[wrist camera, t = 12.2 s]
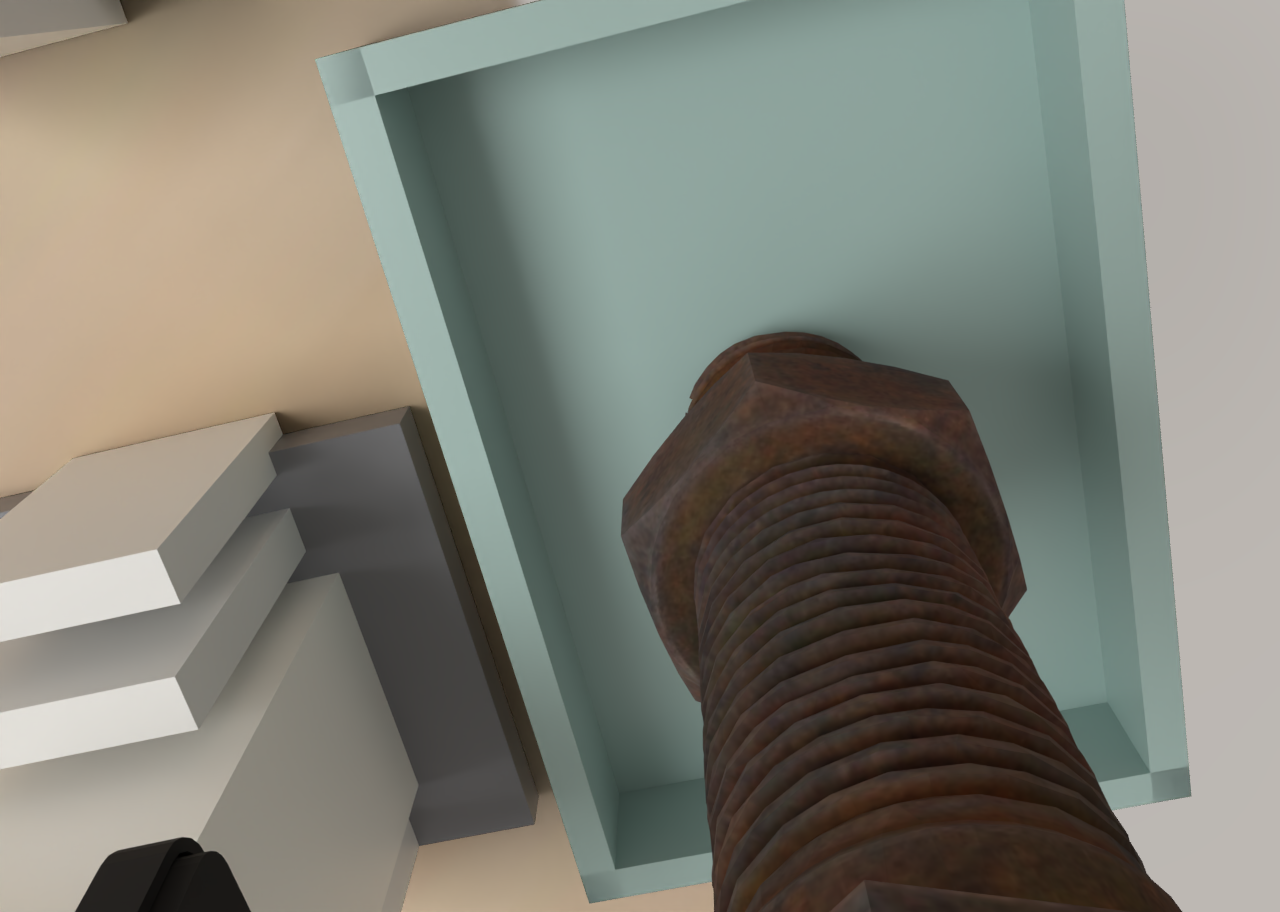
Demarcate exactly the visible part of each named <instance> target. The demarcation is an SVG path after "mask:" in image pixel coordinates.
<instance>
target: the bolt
mask: <svg viewBox="0 0 1280 912" xmlns="http://www.w3.org/2000/svg"><path fill="white" fill-rule="evenodd" d="M689 398H690V399H692V401H691V403H690V405H689V408H688V413H686V412H685V417H684V418H683V419H682V420H681V421H680V423H679V424H678V425H677V426H676V428H675V429H674V430H673V431H672V433H671V434H670V435H669V436H668V438H667V439H666V440H665V441H664V443H663V444H662V445H661V446H660V448H659V449H658V450H657V451H656V453H655V454H654V455H653V456H652V458H651V459H650V461H649V462H648V464H647V465H646V467H645V468H644V469H643V471H642V472H641V474H640V475H639V477H638V478H637V479H636V481H635V482H634V484H633V485H632V487H631V488H630V490H629V491H628V492H627V494H626V495H625V497H624V498H623V505H622V523H621V538H622V541H623V544H624V547H625V550H626V552H627V555H628V558H629V561H630V564H631V566H632V569H633V572H634V575H635V578H636V580H637V583H638V586H639V589H640V591H641V593H642V596H643V598H644V601H645V603H646V605H647V608H648V610H649V613H650V615H651V617H652V620H653V622H654V625H655V627H656V629H657V632H658V634H659V636H660V638H661V640H662V642H663V644H664V646H665V648H666V650H667V652H668V654H669V656H670V658H671V660H672V662H673V664H674V666H675V668H676V670H677V672H678V674H679V675H680V677H681V679H682V680H683V682H684V683H685V685H686V687H687V688H688V690H689V691H690V693H691V695H692V696H693V698H694V699H695V701H697V702H700V703H701V712H702V717H703V723H704V725H703V753H704V779H705V794H706V804H707V820H708V825H709V830H710V838H711V849H712V860H713V865H712V875H711V876H712V886H713V888H714V912H1182V911H1181V910H1180V908H1179V907H1178V906H1177V904H1176V903H1175V902H1174V900H1173V899H1172V898H1171V896H1169V894H1167V893H1166V892H1165V891H1164V890H1163V889H1162V888H1160V887H1159V886H1158V885H1157V884H1156V883H1154V881H1153V880H1151V879H1150V877H1149V876H1148V875H1147V874H1146V871H1145V868H1144V865H1143V863H1142V861H1141V859H1140V857H1139V856H1138V854H1137V852H1136V851H1135V849H1134V847H1133V846H1132V844H1131V842H1130V841H1129V837H1128V834H1127V833H1126V831H1125V830H1124V828H1123V827H1122V825H1121V824H1120V822H1119V821H1118V819H1117V818H1116V816H1115V815H1114V813H1113V812H1112V810H1111V808H1110V806H1109V804H1108V802H1107V800H1106V798H1105V796H1104V794H1103V792H1102V790H1101V787H1100V785H1099V783H1098V781H1097V779H1096V776H1095V774H1094V772H1093V771H1092V769H1091V767H1090V766H1089V764H1088V762H1087V761H1086V759H1085V757H1084V756H1083V754H1082V753H1081V752H1080V750H1079V749H1078V747H1077V745H1076V743H1075V741H1074V739H1073V736H1072V734H1071V732H1070V729H1069V726H1068V724H1067V723H1066V721H1065V719H1064V718H1063V716H1062V714H1061V713H1060V711H1059V709H1058V707H1057V705H1056V702H1055V701H1054V699H1053V697H1052V695H1051V694H1050V692H1049V690H1048V689H1047V687H1046V685H1045V684H1044V682H1043V681H1042V680H1041V678H1040V677H1039V674H1038V672H1037V670H1036V668H1035V666H1034V663H1033V661H1032V659H1031V658H1030V656H1029V653H1028V651H1027V650H1026V648H1025V646H1024V645H1023V643H1022V641H1021V639H1020V637H1019V635H1018V634H1017V633H1016V631H1015V630H1014V628H1013V625H1012V623H1011V620H1010V619H1009V618H1008V617H1009V616H1010V615H1011V613H1012V612H1013V610H1014V609H1015V607H1016V606H1017V604H1018V603H1019V601H1020V600H1021V598H1022V597H1023V595H1024V594H1025V592H1026V591H1027V586H1026V582H1025V578H1024V573H1023V569H1022V564H1021V560H1020V556H1019V553H1018V549H1017V546H1016V543H1015V539H1014V536H1013V532H1012V529H1011V526H1010V522H1009V519H1008V516H1007V513H1006V510H1005V507H1004V504H1003V501H1002V498H1001V495H1000V492H999V489H998V486H997V483H996V480H995V477H994V474H993V471H992V468H991V465H990V462H989V460H988V457H987V455H986V452H985V449H984V447H983V444H982V442H981V439H980V436H979V434H978V431H977V428H976V426H975V423H974V421H973V418H972V415H971V413H970V410H969V409H968V408H967V406H966V405H965V403H964V402H963V400H962V399H961V397H960V396H959V395H958V393H957V392H956V390H955V389H954V387H953V386H952V385H951V383H950V382H949V380H945V379H941V378H937V377H933V376H929V375H925V374H921V373H917V372H913V371H910V370H906V369H902V368H898V367H893V366H888V365H882V364H876V363H871V362H865V361H862V360H861V359H860V358H859V357H858V356H856V355H855V354H854V353H853V352H851V351H850V350H848V349H847V348H845V347H844V346H842V345H840V344H839V343H837V342H835V341H832V340H830V339H827V338H825V337H823V336H819V335H814V334H810V333H805V332H779V333H772V334H764V335H757V336H753V337H751V338H748V339H746V340H743V341H740V342H738V343H735V344H733V345H732V346H730V347H729V348H728V349H726V350H725V351H723V352H722V353H720V354H719V355H718V356H717V357H716V358H715V359H714V360H713V361H712V362H711V363H710V364H709V365H708V366H707V367H706V369H705V370H704V371H703V373H702V374H701V376H700V377H699V379H698V380H697V382H696V383H695V385H694V387H693V390H692V392H691V394H690V397H689Z"/></svg>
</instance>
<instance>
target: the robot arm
mask: <svg viewBox="0 0 1280 912" xmlns="http://www.w3.org/2000/svg"><path fill="white" fill-rule="evenodd" d="M75 912H251V911H250V908H249V906H248V904H247V902H246V900H245V898H244V896H243V894H242V892H241V890H240V888H239V886H238V884H237V882H236V880H235V878H234V876H233V873H232V871H231V869H230V867H229V865H228V863H227V862H226V860H225V859H224V857H223V856H222V855H221V854H219V853H218V852H217V851H207V852H204V850H203V849H202V847H201V846H200V844H199V843H197V842H196V841H195V840H193V839H192V838H188V837H180V838H175V839H170V840H165V841H160V842H156V843H151V844H146V845H141V846H136V847H131V848H126V849H122V850H117V851H116V852H114V853H112V854H110V855H108V857H107V858H106V859H105V860H104V862H103V863H102V864H101V866H100V867H99V869H98V871H97V873H96V875H95V876H94V878H93V880H92V882H91V884H90V885H89V887H88V889H87V891H86V893H85V894H84V896H83V898H82V900H81V902H80V903H79V905H78V907H77V909H76V910H75Z"/></svg>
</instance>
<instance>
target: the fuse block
mask: <svg viewBox="0 0 1280 912" xmlns="http://www.w3.org/2000/svg"><path fill="white" fill-rule="evenodd" d="M127 23H128V22H127V19H126V16H125V14H124V11H123V9H122V6H121V3H120V1H119V0H0V57H3V56H7V55H11V54H14V53H18V52H22V51H26V50H29V49H33V48H37V47H41V46H44V45H48V44H52V43H56V42H59V41H63V40H67V39H71V38H74V37H78V36H82V35H86V34H89V33H93V32H97V31H101V30H104V29H108V28H112V27H116V26H119V25H123V24H127ZM538 797H539V796H538V793H537V790H536V787H535V784H534V781H533V778H532V775H531V772H530V769H529V766H528V762H527V759H526V756H525V753H524V750H523V747H522V744H521V741H520V738H519V735H518V732H517V729H516V726H515V723H514V720H513V717H512V714H511V711H510V708H509V705H508V702H507V699H506V696H505V693H504V690H503V687H502V684H501V681H500V678H499V675H498V672H497V669H496V666H495V663H494V660H493V657H492V654H491V651H490V648H489V645H488V642H487V639H486V636H485V633H484V630H483V627H482V624H481V621H480V618H479V615H478V612H477V609H476V605H475V602H474V599H473V596H472V593H471V590H470V587H469V584H468V581H467V578H466V575H465V572H464V569H463V566H462V563H461V560H460V557H459V554H458V551H457V548H456V545H455V542H454V539H453V536H452V533H451V530H450V527H449V524H448V521H447V518H446V515H445V512H444V509H443V506H442V503H441V500H440V497H439V494H438V491H437V488H436V485H435V482H434V479H433V476H432V473H431V470H430V467H429V464H428V461H427V458H426V455H425V452H424V449H423V445H422V442H421V439H420V436H419V433H418V430H417V427H416V424H415V421H414V418H413V415H412V412H411V409H410V406H407V407H403V408H398V409H394V410H389V411H385V412H381V413H376V414H372V415H367V416H363V417H358V418H354V419H350V420H345V421H341V422H336V423H332V424H327V425H323V426H318V427H314V428H310V429H305V430H301V431H296V432H292V433H287V434H283V433H282V431H281V428H280V426H279V423H278V420H277V418H276V415H275V412H274V413H270V414H266V415H261V416H257V417H252V418H248V419H244V420H239V421H235V422H230V423H226V424H222V425H217V426H213V427H208V428H204V429H200V430H195V431H191V432H187V433H182V434H178V435H173V436H169V437H165V438H160V439H156V440H151V441H147V442H143V443H138V444H134V445H129V446H125V447H121V448H116V449H112V450H107V451H103V452H99V453H94V454H90V455H86V456H81V457H77V458H72V459H71V460H70V461H69V462H68V463H66V464H65V465H64V466H63V467H62V468H60V469H59V470H58V471H57V472H56V473H55V474H53V475H52V476H51V477H50V478H49V479H47V480H46V481H45V482H44V483H43V484H41V485H40V486H39V487H38V488H37V489H36V490H34V491H30V492H26V493H22V494H17V495H13V496H8V497H4V498H0V912H75V910H76V909H77V907H78V905H79V903H80V902H81V900H82V898H83V896H84V894H85V893H86V891H87V889H88V887H89V885H90V884H91V882H92V880H93V878H94V876H95V875H96V873H97V871H98V869H99V867H100V866H101V864H102V863H103V862H104V860H105V859H106V858H107V857H108V855H110V854H112V853H114V852H116V851H117V850H122V849H126V848H131V847H136V846H141V845H146V844H151V843H156V842H160V841H165V840H170V839H175V838H180V837H188V838H192V839H193V840H195V841H196V842H197V843H199V844H200V846H201V847H202V849H203V850H204V852H207V851H217V852H218V853H219V854H221V855H222V856H223V857H224V859H225V860H226V862H227V863H228V865H229V867H230V869H231V871H232V873H233V876H234V878H235V880H236V882H237V884H238V886H239V888H240V890H241V892H242V894H243V896H244V898H245V900H246V902H247V904H248V906H249V908H250V911H251V912H401V910H402V907H403V903H404V899H405V896H406V892H407V888H408V885H409V881H410V877H411V874H412V870H413V866H414V863H415V859H416V855H417V852H418V848H419V846H421V845H426V844H432V843H437V842H442V841H448V840H453V839H458V838H464V837H469V836H475V835H480V834H485V833H491V832H496V831H501V830H507V829H512V828H518V827H523V826H528V825H534V824H535V818H536V811H537V804H538Z"/></svg>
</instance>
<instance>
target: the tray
mask: <svg viewBox="0 0 1280 912" xmlns="http://www.w3.org/2000/svg"><path fill="white" fill-rule="evenodd" d="M315 61H316V64H317V67H318V70H319V73H320V76H321V79H322V82H323V86H324V89H325V92H326V95H327V98H328V101H329V104H330V107H331V110H332V113H333V116H334V119H335V122H336V126H337V129H338V132H339V135H340V138H341V141H342V144H343V147H344V150H345V153H346V156H347V159H348V162H349V165H350V169H351V172H352V175H353V178H354V181H355V184H356V187H357V190H358V193H359V196H360V199H361V202H362V205H363V209H364V212H365V215H366V218H367V221H368V224H369V227H370V230H371V233H372V236H373V239H374V242H375V245H376V249H377V252H378V255H379V258H380V261H381V264H382V267H383V270H384V273H385V276H386V279H387V282H388V285H389V288H390V292H391V295H392V298H393V301H394V304H395V307H396V310H397V313H398V316H399V319H400V322H401V325H402V328H403V332H404V335H405V338H406V341H407V344H408V347H409V350H410V353H411V356H412V359H413V362H414V365H415V368H416V372H417V375H418V378H419V381H420V384H421V387H422V390H423V393H424V396H425V399H426V402H427V405H428V408H429V411H430V415H431V418H432V421H433V424H434V427H435V430H436V433H437V436H438V439H439V442H440V445H441V448H442V451H443V455H444V458H445V461H446V464H447V467H448V470H449V473H450V476H451V479H452V482H453V485H454V488H455V491H456V495H457V498H458V501H459V504H460V507H461V510H462V513H463V516H464V519H465V522H466V525H467V528H468V531H469V534H470V538H471V541H472V544H473V547H474V550H475V553H476V556H477V559H478V562H479V565H480V568H481V571H482V574H483V578H484V581H485V584H486V587H487V590H488V593H489V596H490V599H491V602H492V605H493V608H494V611H495V614H496V618H497V621H498V624H499V627H500V630H501V633H502V636H503V639H504V642H505V645H506V648H507V651H508V654H509V657H510V661H511V664H512V667H513V670H514V673H515V676H516V679H517V682H518V685H519V688H520V691H521V694H522V697H523V701H524V704H525V707H526V710H527V713H528V716H529V719H530V722H531V725H532V728H533V731H534V734H535V737H536V741H537V744H538V747H539V750H540V753H541V756H542V759H543V762H544V765H545V768H546V771H547V774H548V777H549V780H550V784H551V787H552V790H553V793H554V796H555V799H556V802H557V805H558V808H559V811H560V814H561V817H562V820H563V824H564V827H565V830H566V833H567V836H568V839H569V842H570V845H571V848H572V851H573V854H574V857H575V860H576V864H577V867H578V870H579V873H580V876H581V879H582V882H583V885H584V888H585V891H586V894H587V897H588V900H589V903H595V902H600V901H606V900H612V899H617V898H623V897H629V896H634V895H640V894H645V893H651V892H657V891H662V890H668V889H673V888H679V887H685V886H690V885H696V884H702V883H707V882H712V876H711V875H712V865H713V860H712V849H711V838H710V830H709V825H708V820H707V804H706V794H705V779H704V753H703V725H704V723H703V717H702V712H701V703H700V702H697V701H695V699H694V698H693V696H692V695H691V693H690V691H689V690H688V688H687V687H686V685H685V683H684V682H683V680H682V679H681V677H680V675H679V674H678V672H677V670H676V668H675V666H674V664H673V662H672V660H671V658H670V656H669V654H668V652H667V650H666V648H665V646H664V644H663V642H662V640H661V638H660V636H659V634H658V632H657V629H656V627H655V625H654V622H653V620H652V617H651V615H650V613H649V610H648V608H647V605H646V603H645V601H644V598H643V596H642V593H641V591H640V589H639V586H638V583H637V580H636V578H635V575H634V572H633V569H632V566H631V564H630V561H629V558H628V555H627V552H626V550H625V547H624V544H623V541H622V538H621V523H622V505H623V498H624V497H625V495H626V494H627V492H628V491H629V490H630V488H631V487H632V485H633V484H634V482H635V481H636V479H637V478H638V477H639V475H640V474H641V472H642V471H643V469H644V468H645V467H646V465H647V464H648V462H649V461H650V459H651V458H652V456H653V455H654V454H655V453H656V451H657V450H658V449H659V448H660V446H661V445H662V444H663V443H664V441H665V440H666V439H667V438H668V436H669V435H670V434H671V433H672V431H673V430H674V429H675V428H676V426H677V425H678V424H679V423H680V421H681V420H682V419H683V418H684V417H685V412H686V413H688V408H689V405H690V403H691V401H692V399H690V398H689V397H690V394H691V392H692V390H693V387H694V385H695V383H696V382H697V380H698V379H699V377H700V376H701V374H702V373H703V371H704V370H705V369H706V367H707V366H708V365H709V364H710V363H711V362H712V361H713V360H714V359H715V358H716V357H717V356H718V355H719V354H720V353H722V352H723V351H725V350H726V349H728V348H729V347H730V346H732V345H733V344H735V343H738V342H740V341H743V340H746V339H748V338H751V337H753V336H757V335H764V334H772V333H779V332H805V333H810V334H814V335H819V336H823V337H825V338H827V339H830V340H832V341H835V342H837V343H839V344H840V345H842V346H844V347H845V348H847V349H848V350H850V351H851V352H853V353H854V354H855V355H856V356H858V357H859V358H860V359H861V360H862V361H865V362H871V363H876V364H882V365H888V366H893V367H898V368H902V369H906V370H910V371H913V372H917V373H921V374H925V375H929V376H933V377H937V378H941V379H945V380H949V382H950V383H951V385H952V386H953V387H954V389H955V390H956V392H957V393H958V395H959V396H960V397H961V399H962V400H963V402H964V403H965V405H966V406H967V408H968V409H969V410H970V413H971V415H972V418H973V421H974V423H975V426H976V428H977V431H978V434H979V436H980V439H981V442H982V444H983V447H984V449H985V452H986V455H987V457H988V460H989V462H990V465H991V468H992V471H993V474H994V477H995V480H996V483H997V486H998V489H999V492H1000V495H1001V498H1002V501H1003V504H1004V507H1005V510H1006V513H1007V516H1008V519H1009V522H1010V526H1011V529H1012V532H1013V536H1014V539H1015V543H1016V546H1017V549H1018V553H1019V556H1020V560H1021V564H1022V569H1023V573H1024V578H1025V582H1026V586H1027V591H1026V592H1025V594H1024V595H1023V597H1022V598H1021V600H1020V601H1019V603H1018V604H1017V606H1016V607H1015V609H1014V610H1013V612H1012V613H1011V615H1010V616H1009V617H1008V618H1009V619H1010V620H1011V623H1012V625H1013V628H1014V630H1015V631H1016V633H1017V634H1018V635H1019V637H1020V639H1021V641H1022V643H1023V645H1024V646H1025V648H1026V650H1027V651H1028V653H1029V656H1030V658H1031V659H1032V661H1033V663H1034V666H1035V668H1036V670H1037V672H1038V674H1039V677H1040V678H1041V680H1042V681H1043V682H1044V684H1045V685H1046V687H1047V689H1048V690H1049V692H1050V694H1051V695H1052V697H1053V699H1054V701H1055V702H1056V705H1057V707H1058V709H1059V711H1060V713H1061V714H1062V716H1063V718H1064V719H1065V721H1066V723H1067V724H1068V726H1069V729H1070V732H1071V734H1072V736H1073V739H1074V741H1075V743H1076V745H1077V747H1078V749H1079V750H1080V752H1081V753H1082V754H1083V756H1084V757H1085V759H1086V761H1087V762H1088V764H1089V766H1090V767H1091V769H1092V771H1093V772H1094V774H1095V776H1096V779H1097V781H1098V783H1099V785H1100V787H1101V790H1102V792H1103V794H1104V796H1105V798H1106V800H1107V802H1108V804H1109V806H1110V808H1111V810H1117V809H1122V808H1128V807H1134V806H1140V805H1145V804H1150V803H1156V802H1162V801H1167V800H1173V799H1179V798H1184V797H1190V796H1191V787H1190V775H1189V763H1188V751H1187V741H1186V740H1187V739H1186V728H1185V717H1184V704H1183V692H1182V680H1181V668H1180V656H1179V646H1178V633H1177V622H1176V609H1175V598H1174V585H1173V573H1172V562H1171V550H1170V538H1169V526H1168V514H1167V502H1166V490H1165V478H1164V467H1163V455H1162V443H1161V431H1160V419H1159V407H1158V395H1157V384H1156V372H1155V360H1154V349H1153V336H1152V324H1151V313H1150V301H1149V289H1148V277H1147V266H1146V253H1145V241H1144V231H1143V230H1144V229H1143V218H1142V206H1141V194H1140V183H1139V170H1138V159H1137V147H1136V135H1135V123H1134V111H1133V99H1132V88H1131V76H1130V63H1129V52H1128V40H1127V28H1126V16H1125V4H1124V0H539V1H535V2H531V3H527V4H523V5H519V6H515V7H511V8H508V9H504V10H500V11H496V12H492V13H488V14H484V15H481V16H477V17H473V18H469V19H465V20H461V21H457V22H454V23H450V24H446V25H442V26H438V27H434V28H430V29H427V30H423V31H419V32H415V33H411V34H407V35H403V36H400V37H396V38H392V39H388V40H384V41H380V42H376V43H372V44H369V45H365V46H361V47H357V48H354V49H350V50H346V51H343V52H339V53H336V54H332V55H328V56H325V57H321V58H318V59H315Z"/></svg>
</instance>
